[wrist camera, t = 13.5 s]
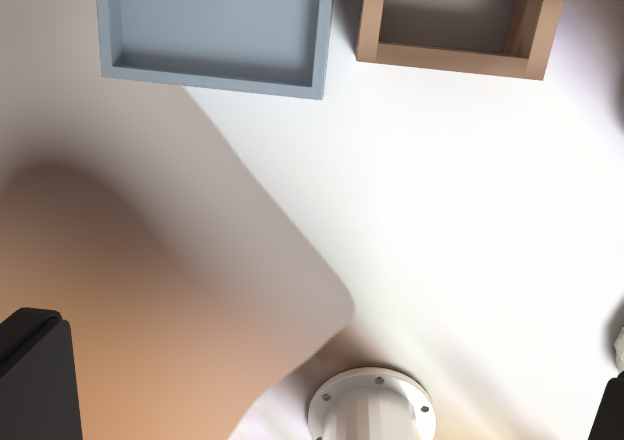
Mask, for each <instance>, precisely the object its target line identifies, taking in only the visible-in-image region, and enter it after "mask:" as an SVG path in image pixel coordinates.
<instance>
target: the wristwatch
mask: <svg viewBox="0 0 624 440" xmlns="http://www.w3.org/2000/svg"><path fill="white" fill-rule="evenodd" d="M620 332H621V333H619V335H618V337H617V339H616V341H615V343H614V347H615V349H616V350H617V353H616V354H617V355H616V363H617V368H618V371H619V373H621V372H622V371H624V325H623V327H622V329H621V331H620Z"/></svg>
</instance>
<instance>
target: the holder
mask: <svg viewBox="0 0 624 440" xmlns="http://www.w3.org/2000/svg"><path fill="white" fill-rule="evenodd" d="M383 3H384V0H362V4H361V12H360V20H359V29H358V37H357V45H356V53H355V57H356V61H359V62H369V63H378V64H388V65H398V66H407V67H417V68H426V69H436V70H446V71H455V72H465V73H474V74H484V75H494V76H503V77H513V78H522V79H532V80H542V81H543V78H544V74H545V70H546V67H547V63H548V59H549V55H550V52H551V48H552V44H553V40H554V37H555V33H556V29H557V25H558V21H559V18H560V14H561V10H562V6H563V3H564V0H515V3H514V8H513V12H512V16H511V21H510V25H509V29H508V34H507V38H506V42H505V47H504V51H503V54H501V53H491V52H482V51H472V50H462V49H452V48H443V47H433V46H423V45H414V44H404V43H394V42H384V41H378V39H379V32H380V25H381V17H382V10H383Z"/></svg>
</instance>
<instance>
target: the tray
mask: <svg viewBox="0 0 624 440" xmlns="http://www.w3.org/2000/svg"><path fill="white" fill-rule="evenodd" d="M332 7H333V0H97V13H98V27H99V43H100V58H101V73H102V77H108V78H118V79H128V80H137V81H146V82H155V83H165V84H174V85H183V86H193V87H202V88H212V89H221V90H230V91H240V92H249V93H259V94H268V95H277V96H287V97H296V98H306V99H315V100H322V98H323V95H324V86H325V76H326V67H327V57H328V47H329V37H330V27H331V17H332Z"/></svg>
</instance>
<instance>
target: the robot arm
mask: <svg viewBox="0 0 624 440" xmlns="http://www.w3.org/2000/svg"><path fill="white" fill-rule="evenodd" d="M308 427H309V432H310V435H311V437H312V440H432V439H433V437H434V434H435V430H436V416H435V411H434V407H433V403H432V401H431V399H430V397H429V395H428V394H427V392H426V391H425V390H424V389H423V388H422V387H421V385H419V384H418V383H417V382H415V381H414V380H413V379H412V378H410V377H408V376H406V375H404V374H402V373H399V372H396V371H393V370H390V369H385V368H378V367H363V368H356V369H351V370H348V371H345V372H342V373H339V374H338V375H336V376H334V377H332V378H330V379H329V380H328V381H326V382H325V383H324V384H323V385H321V387H320V388H319V389H318V390H317V391H316V393H315V394H314V396H313V398H312V400H311V403H310V407H309V411H308ZM0 440H83V438H82V428H81V419H80V410H79V401H78V393H77V383H76V374H75V364H74V355H73V346H72V337H71V328H70V325H69V323H68V321H66V320H62V316H61V315H60V313H59V312H57V311H55V310H46V309H36V308H27V307H26V308H20V309H19V310H17V311H16V312H14V313H13V314H12V315H11V316H9V317H8V318H7V319H6V320H5V321H3V322H2V323H1V324H0ZM588 440H624V371H622V372H621V373H620V374H619V375H618V377H617V378H611V379H610V380H609V381H608V383H607V385H606V388H605V391H604V394H603V397H602V400H601V403H600V406H599V409H598V412H597V414H596V417H595V420H594V423H593V426H592V429H591V432H590V435H589V438H588Z"/></svg>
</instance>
